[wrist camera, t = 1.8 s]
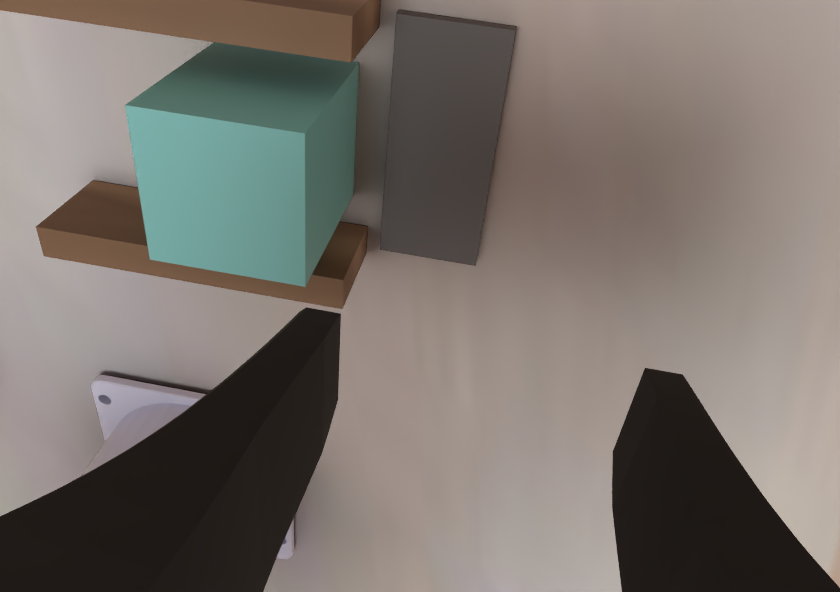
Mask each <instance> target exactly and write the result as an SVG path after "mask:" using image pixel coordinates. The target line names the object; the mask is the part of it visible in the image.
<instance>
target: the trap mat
mask: <svg viewBox="0 0 840 592" xmlns="http://www.w3.org/2000/svg"><path fill="white" fill-rule="evenodd" d="M516 27H517V26H510V25H503V24H496V23H489V22H482V21H475V20H468V19H461V18H454V17H447V16H440V15H433V14H426V13H419V12H412V11H404V10H399V11H398V12H397V14H396V27H395V41H394V55H393V69H392V83H391V98H390V112H389V126H388V140H387V154H386V168H385V182H384V196H383V211H382V225H381V239H380V250H386V251H392V252H397V253H403V254H409V255H415V256H421V257H427V258H433V259H439V260H444V261H450V262H456V263H462V264H468V265H474V266H476V262H477V256H478V250H479V244H480V238H481V232H482V227H483V221H484V215H485V209H486V203H487V197H488V191H489V185H490V180H491V174H492V168H493V162H494V156H495V150H496V144H497V139H498V133H499V127H500V121H501V115H502V109H503V103H504V98H505V92H506V86H507V80H508V74H509V68H510V62H511V56H512V51H513V45H514V39H515V33H516Z"/></svg>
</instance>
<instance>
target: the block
mask: <svg viewBox="0 0 840 592" xmlns="http://www.w3.org/2000/svg"><path fill="white" fill-rule="evenodd" d="M358 77H359V62H345V61H338V60H331V59H325V58H318V57H311V56H304V55H298V54H291V53H284V52H278V51H271V50H264V49H258V48H251V47H244V46H238V45H231V44H224V43H217V42H214V43H213V44H211V45H210V46H208V47H207V48H206V49H204V50H203V51H201V52H200V53H198V54H197V55H196V56H194V57H193V58H191V59H190V60H188V61H187V62H186V63H184V64H183V65H181V66H180V67H179V68H177V69H176V70H174V71H173V72H171V73H170V74H169V75H167V76H166V77H164V78H163V79H161V80H160V81H159V82H157V83H156V84H154V85H153V86H151V87H150V88H149V89H147V90H146V91H144V92H143V93H142V94H140V95H139V96H137V97H136V98H134V99H133V100H132V101H130V102H129V103H127V104H126V105H125V108H126V114H127V120H128V127H129V133H130V139H131V145H132V152H133V158H134V164H135V170H136V176H137V183H138V189H139V195H140V201H141V208H142V214H143V220H144V226H145V232H146V239H147V245H148V251H149V257H150V260H155V261H161V262H167V263H173V264H178V265H184V266H190V267H195V268H201V269H207V270H212V271H218V272H224V273H230V274H235V275H241V276H247V277H252V278H258V279H264V280H269V281H275V282H281V283H287V284H292V285H298V286H304V287H306V285H307V283H308V281H309V279H310V277H311V275H312V273H313V271H314V269H315V267H316V265H317V263H318V262H319V260H320V258H321V256H322V254H323V252H324V250H325V248H326V246H327V244H328V242H329V240H330V239H331V237H332V235H333V233H334V231H335V229H336V227H337V225H338V223H339V221H340V219H341V217H342V216H343V214H344V212H345V210H346V208H347V206H348V204H349V202H350V200H351V198H352V196H353V192H354V169H355V146H356V123H357V100H358Z"/></svg>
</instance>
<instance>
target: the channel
mask: <svg viewBox="0 0 840 592" xmlns="http://www.w3.org/2000/svg"><path fill="white" fill-rule="evenodd" d="M380 2H381V0H0V10H3V11H10V12H17V13H23V14H30V15H37V16H43V17H50V18H57V19H64V20H70V21H77V22H84V23H90V24H97V25H104V26H110V27H117V28H124V29H130V30H137V31H144V32H151V33H157V34H164V35H171V36H177V37H184V38H191V39H197V40H204V41H211V42H217V43H224V44H231V45H238V46H244V47H251V48H258V49H264V50H271V51H278V52H284V53H291V54H298V55H304V56H311V57H318V58H325V59H331V60H338V61H345V62H352V61H353V59H354V58H355V57H356V56H357V54H358V53H359V52H360V51H361V49H362V48H363V47H364V45H365V44H366V43H367V42H368V40H369V39H370V38H371V37H372V35H373V34H374V33H375V32H376V30H377V29H378V28H379V19H380ZM36 229H37V232H38V236H39V240H40V244H41V247H42V251H43V255H44V256H46V257H52V258H58V259H63V260H69V261H75V262H80V263H86V264H91V265H97V266H103V267H108V268H114V269H120V270H125V271H131V272H137V273H142V274H148V275H153V276H159V277H165V278H170V279H176V280H182V281H187V282H193V283H199V284H204V285H210V286H215V287H221V288H227V289H232V290H238V291H244V292H249V293H255V294H261V295H266V296H272V297H278V298H283V299H289V300H294V301H300V302H306V303H311V304H317V305H323V306H328V307H334V308H340V309H343V306H344V304H345V302H346V299H347V297H348V295H349V292H350V290H351V288H352V285H353V283H354V281H355V278H356V276H357V274H358V271H359V269H360V267H361V264H362V262H363V260H364V257H365V255H366V246H367V229H368V227H367V226H361V225H355V224H349V223H344V222H339V223H338V225H337V227H336V229H335V231H334V233H333V235H332V237H331V239H330V240H329V242H328V244H327V246H326V248H325V250H324V252H323V254H322V256H321V258H320V260H319V262H318V263H317V265H316V267H315V269H314V271H313V273H312V275H311V277H310V279H309V281H308V283H307V285H306V287H304V286H298V285H292V284H287V283H281V282H275V281H269V280H264V279H258V278H252V277H247V276H241V275H235V274H230V273H224V272H218V271H212V270H207V269H201V268H195V267H190V266H184V265H178V264H173V263H167V262H161V261H155V260H150V257H149V251H148V245H147V239H146V232H145V226H144V220H143V214H142V208H141V201H140V195H139V189H138V188H135V187H129V186H123V185H117V184H111V183H105V182H99V181H91V182H90V183H89V184H88V185H87V186H85V187H84V188H83V189H82V190H80V191H79V192H78V193H77V194H76V195H74V196H73V197H72V198H71V199H69V200H68V201H67V202H66V203H65V204H63V205H62V206H61V207H60V208H58V209H57V210H56V211H55V212H53V213H52V214H51V215H50V216H49V217H47V218H46V219H45V220H44V221H42V222H41V223H40V224H39V225H38V226H36Z"/></svg>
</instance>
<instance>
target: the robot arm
mask: <svg viewBox="0 0 840 592" xmlns="http://www.w3.org/2000/svg"><path fill="white" fill-rule="evenodd" d="M340 320H341V314H339V313H334V312H328V311H322V310H317V309H311V308H305V309H303V310H302V311H300V312H299V313H298V314H297V315H296V316H295V317H294V318H293V319H292V320H291V321H290V322H289V323H288V324H287V325H286V326H285V327H284V328H283V329H281V330H280V331H279V332H278V333H277V334H276V335H275V336H274V337H273V338H272V339H271V340H270V341H269V342H268V343H266V344H265V345H264V346H263V347H262V348H261V349H260V350H259V351H258V352H257V353H255V354H254V355H253V356H252V357H251V358H250V359H249V360H247V361H246V362H245V363H244V364H243V365H242V366H240V367H239V368H238V369H237V370H236V371H235V372H233V373H232V374H231V375H230V376H229V377H228V378H226V379H225V380H224V381H223V382H222V383H220V384H219V385H218V386H217V387H215V388H214V389H213V390H211V391H210V392H209V393H207V394H202V393H196V392H191V391H186V390H181V389H175V388H170V387H165V386H160V385H154V384H149V383H144V382H139V381H133V380H128V379H123V378H117V377H112V376H107V375H99V376H97V377H96V378H95V380H94V381H93V382H92V384H91V389H92V393H93V397H94V400H95V404H96V408H97V412H98V416H99V420H100V424H101V428H102V432H103V436H104V440H105V443H104V445H103V446H102V448H101V449H100V450H99V452H98V453H97V455H96V456H95V457H94V459H93V460H92V462H91V463H90V464H89V466H88V467H87V469H86V470H85V472H84V473H83V474H82V476H81V477H79V478H77V479H76V480H74V481H72V482H70V483H68V484H67V485H65V486H63V487H61V488H59V489H57V490H55V491H53V492H51V493H49V494H47V495H45V496H42V497H40V498H38V499H36V500H34V501H32V502H30V503H28V504H26V505H24V506H22V507H20V508H17V509H15V510H13V511H11V512H9V513H7V514H4V515H2V516H0V592H263V591H264V588H265V585H266V583H267V580H268V577H269V575H270V572H271V570H272V567H273V565H274V562H275V560H276V558H279V559H289V558H291V557H292V554H293V551H294V516H295V514H296V512H297V509H298V507H299V505H300V502H301V500H302V498H303V496H304V493H305V491H306V489H307V486H308V484H309V482H310V479H311V477H312V475H313V472H314V470H315V468H316V465H317V463H318V461H319V458H320V456H321V454H322V451H323V448H324V445H325V441H326V438H327V435H328V432H329V428H330V425H331V422H332V418H333V415H334V411H335V408H336V404H337V401H338V379H339V349H340ZM612 508H613V518H614V527H615V536H616V544H617V553H618V561H619V570H620V578H621V586H622V592H840V588H839V587H838V586H837V584H836V583H835V582H834V581H833V580H832V579H831V578H830V576H829V575H828V574H827V573H826V572H825V571H824V570H823V569H822V568H821V566H820V565H819V564H818V563H817V562H816V561H815V560H814V559H813V557H812V556H811V555H810V554H809V553H808V552H807V550H806V549H805V548H804V547H803V546H802V544H801V543H800V542H799V541H798V540H797V538H796V537H795V536H794V535H793V533H792V532H791V531H790V530H789V528H788V527H787V526H786V524H785V523H784V522H783V521H782V519H781V518H780V517H779V515H778V514H777V513H776V512H775V510H774V509H773V508H772V506H771V505H770V504H769V503H768V501H767V500H766V499H765V497H764V496H763V495H762V493H761V492H760V490H759V489H758V488H757V486H756V485H755V483H754V482H753V480H752V479H751V478H750V476H749V475H748V473H747V472H746V470H745V469H744V468H743V466H742V465H741V463H740V462H739V460H738V459H737V458H736V456H735V455H734V453H733V452H732V450H731V449H730V447H729V446H728V444H727V443H726V441H725V440H724V438H723V437H722V435H721V433H720V432H719V430H718V429H717V427H716V426H715V424H714V423H713V421H712V420H711V418H710V416H709V415H708V413H707V412H706V410H705V409H704V407H703V405H702V404H701V402H700V401H699V399H698V398H697V396H696V394H695V393H694V391H693V390H692V388H691V387H690V385H689V384H688V382H687V381H686V379H685V377H684V376H683V375H682V374H676V373H671V372H665V371H659V370H654V369H648V368H645V370H644V372H643V375H642V377H641V380H640V383H639V385H638V388H637V390H636V393H635V396H634V398H633V401H632V403H631V406H630V409H629V411H628V414H627V416H626V419H625V422H624V424H623V427H622V429H621V432H620V435H619V437H618V440H617V442H616V445H615V448H614V450H613V477H612Z"/></svg>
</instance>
